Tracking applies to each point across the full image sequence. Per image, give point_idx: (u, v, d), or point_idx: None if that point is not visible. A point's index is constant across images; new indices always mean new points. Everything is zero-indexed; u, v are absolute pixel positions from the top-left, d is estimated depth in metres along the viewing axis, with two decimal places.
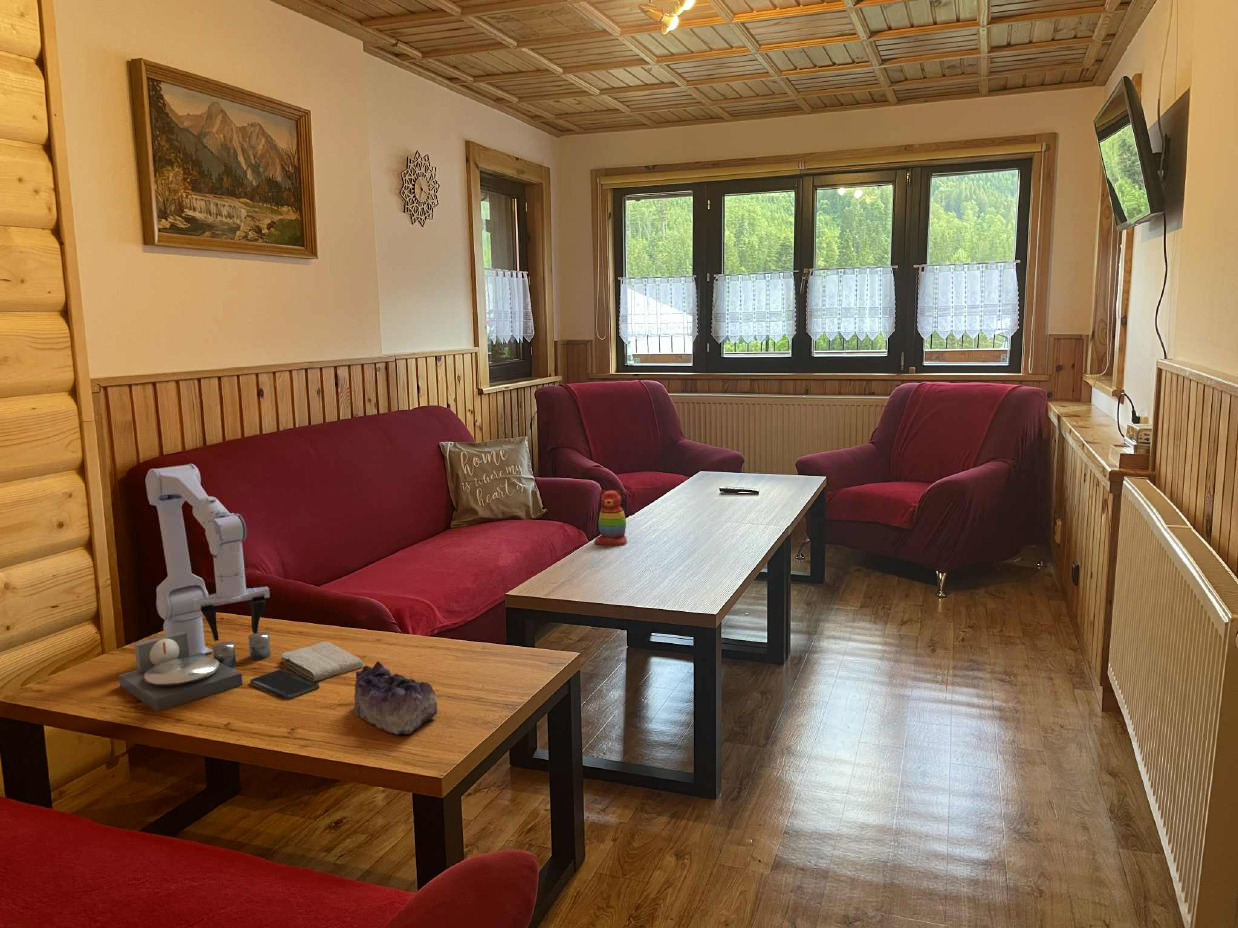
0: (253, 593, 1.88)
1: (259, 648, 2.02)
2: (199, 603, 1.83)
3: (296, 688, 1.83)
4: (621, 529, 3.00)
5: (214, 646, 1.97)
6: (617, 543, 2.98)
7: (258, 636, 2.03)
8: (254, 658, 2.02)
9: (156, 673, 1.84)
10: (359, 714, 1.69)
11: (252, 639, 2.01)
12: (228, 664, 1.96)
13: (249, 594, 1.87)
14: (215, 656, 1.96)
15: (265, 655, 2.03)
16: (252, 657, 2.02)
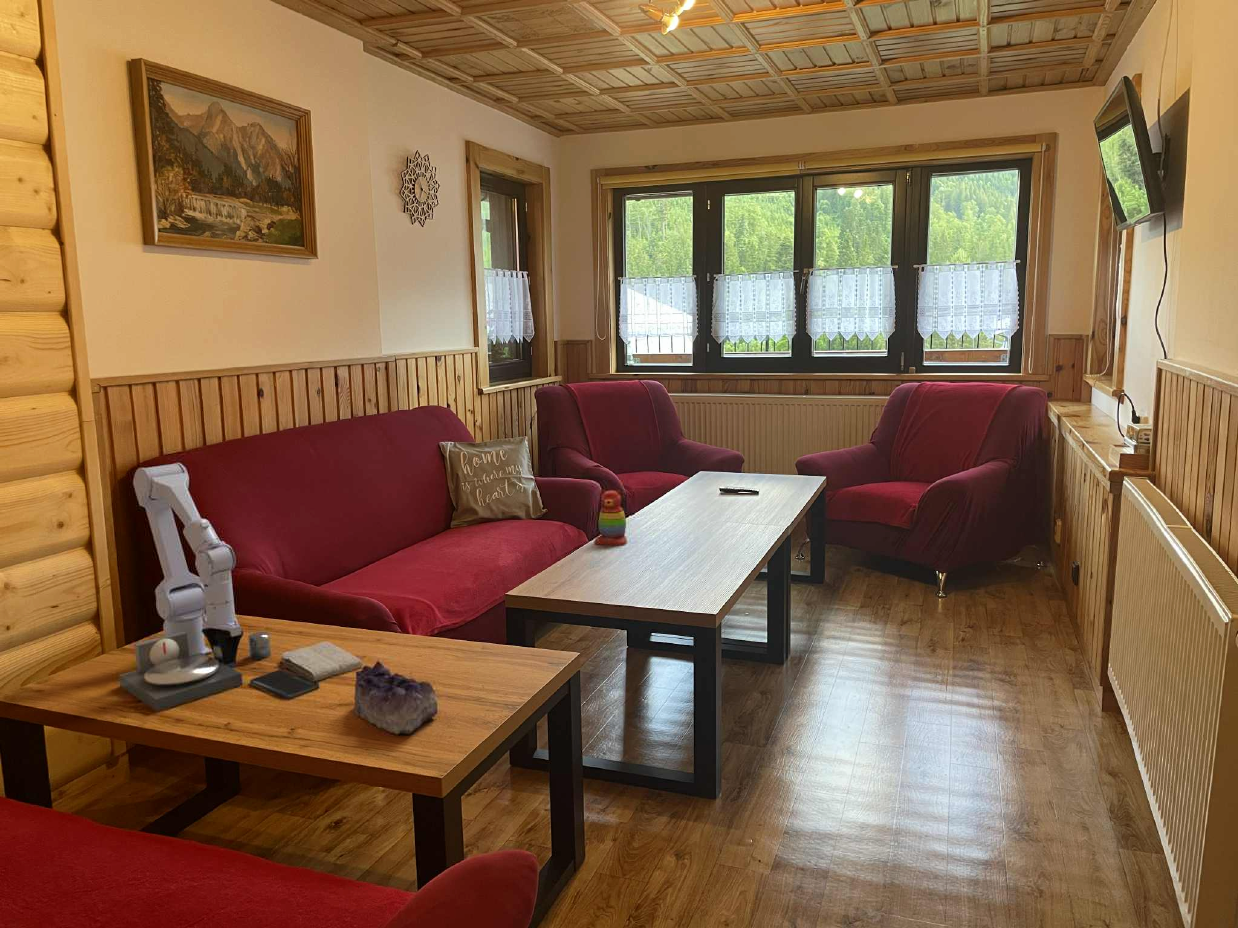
0: (221, 627, 1.93)
1: (259, 648, 2.02)
2: (204, 618, 2.00)
3: (296, 688, 1.83)
4: (621, 529, 3.00)
5: (214, 646, 1.97)
6: (617, 543, 2.98)
7: (258, 636, 2.03)
8: (254, 658, 2.02)
9: (156, 673, 1.84)
10: (359, 714, 1.69)
11: (252, 639, 2.01)
12: None
13: (217, 626, 1.93)
14: (215, 656, 1.96)
15: (265, 655, 2.03)
16: (252, 657, 2.02)
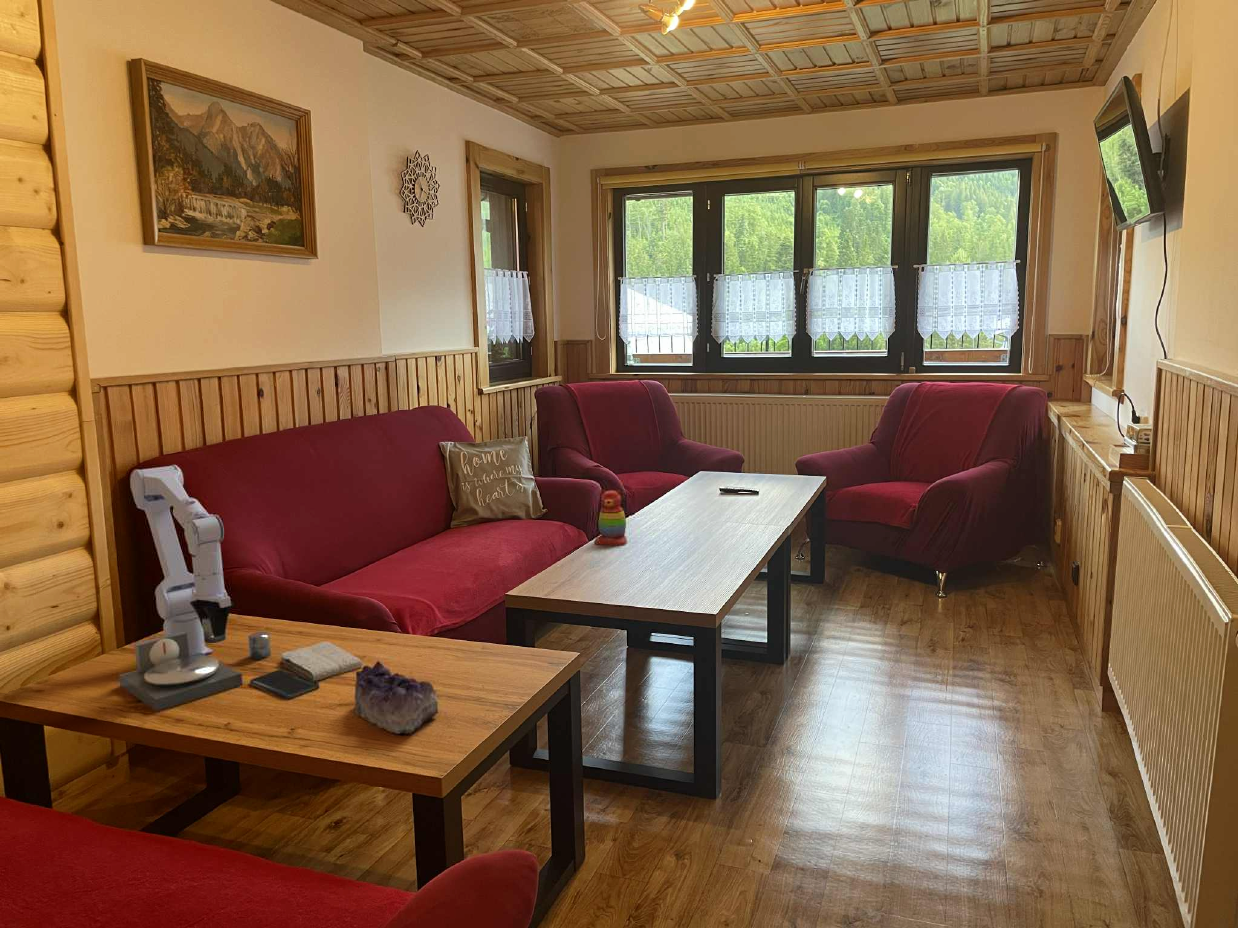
0: (210, 598, 1.90)
1: (259, 648, 2.02)
2: (193, 591, 1.97)
3: (296, 688, 1.83)
4: (621, 529, 3.00)
5: (203, 619, 1.94)
6: (617, 543, 2.98)
7: (258, 636, 2.03)
8: (254, 658, 2.02)
9: (156, 673, 1.84)
10: (359, 714, 1.69)
11: (252, 639, 2.01)
12: (218, 636, 1.93)
13: (206, 598, 1.90)
14: (204, 629, 1.93)
15: (265, 655, 2.03)
16: (252, 657, 2.02)
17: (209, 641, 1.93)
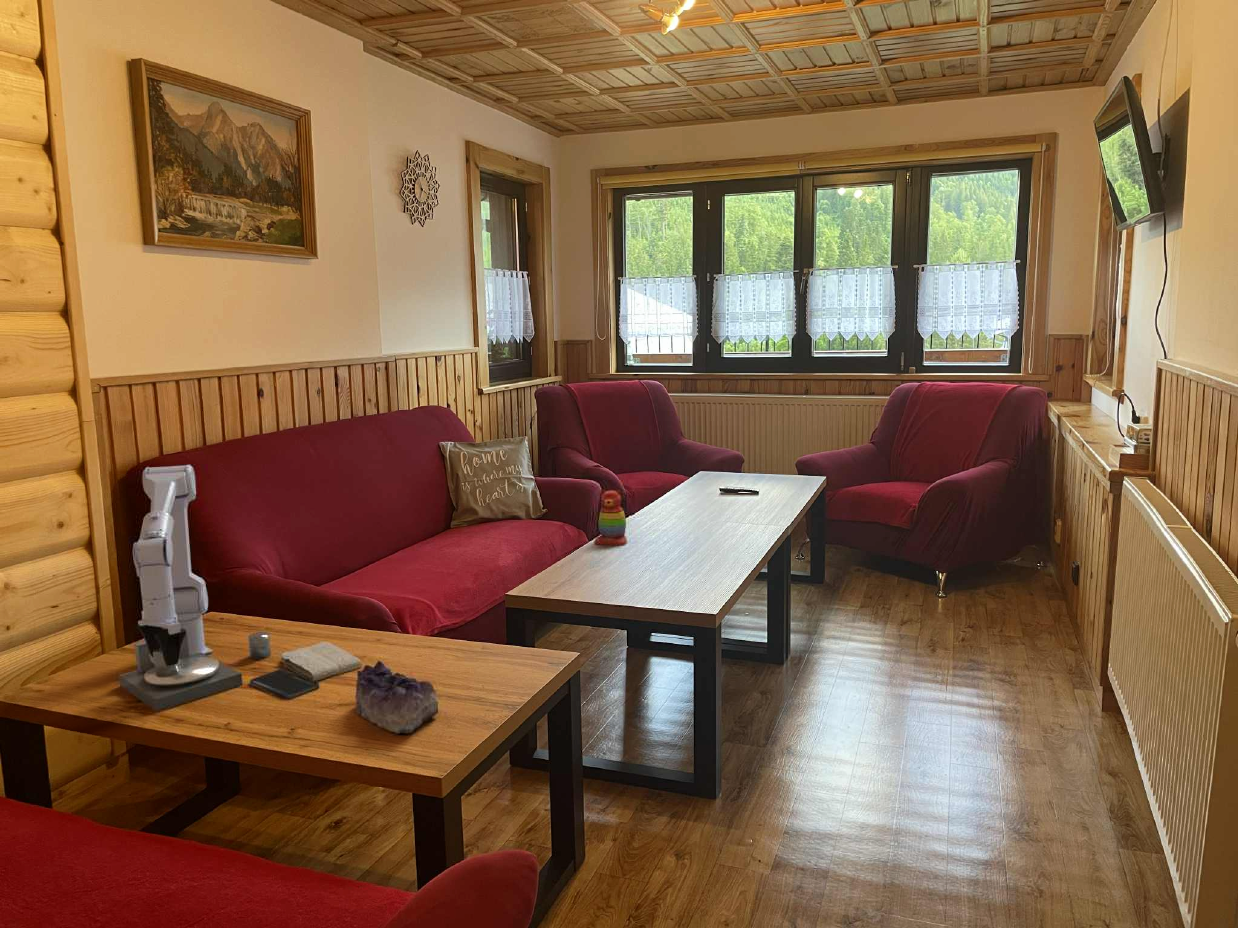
0: (158, 624, 1.78)
1: (259, 648, 2.02)
2: (143, 615, 1.86)
3: (296, 688, 1.83)
4: (621, 529, 3.00)
5: (154, 651, 1.82)
6: (617, 543, 2.98)
7: (258, 636, 2.03)
8: (254, 658, 2.02)
9: None
10: (360, 713, 1.69)
11: (252, 639, 2.01)
12: (170, 670, 1.82)
13: (155, 623, 1.79)
14: (156, 662, 1.82)
15: (265, 655, 2.03)
16: (252, 657, 2.02)
17: (161, 675, 1.82)
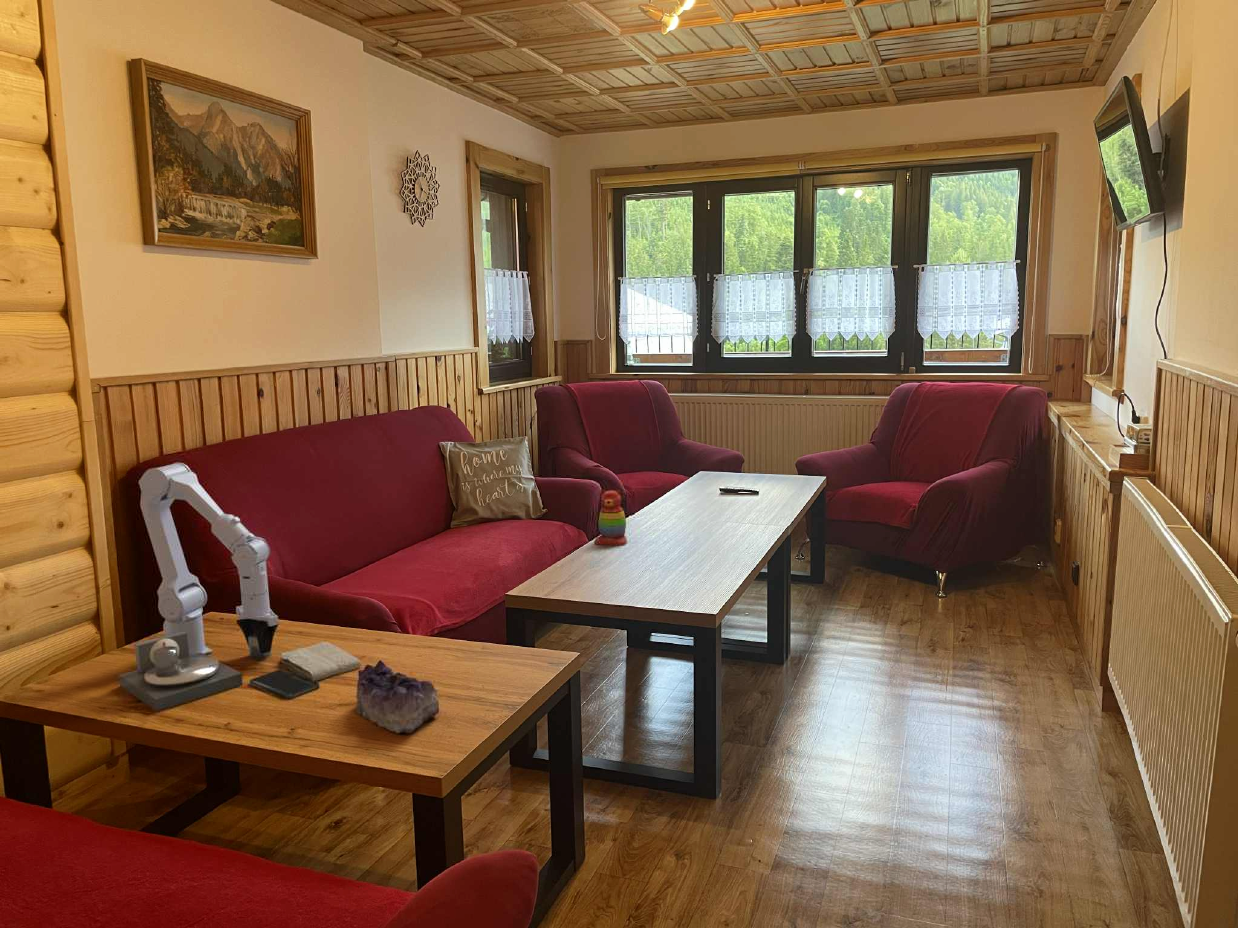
0: (258, 617, 1.99)
1: None
2: (237, 610, 2.06)
3: (296, 688, 1.83)
4: (621, 529, 3.00)
5: (154, 651, 1.83)
6: (617, 543, 2.98)
7: None
8: (254, 658, 2.02)
9: None
10: (361, 713, 1.70)
11: (252, 639, 2.01)
12: (170, 670, 1.82)
13: (255, 617, 1.99)
14: (156, 662, 1.82)
15: (265, 655, 2.03)
16: (252, 657, 2.02)
17: (161, 675, 1.82)
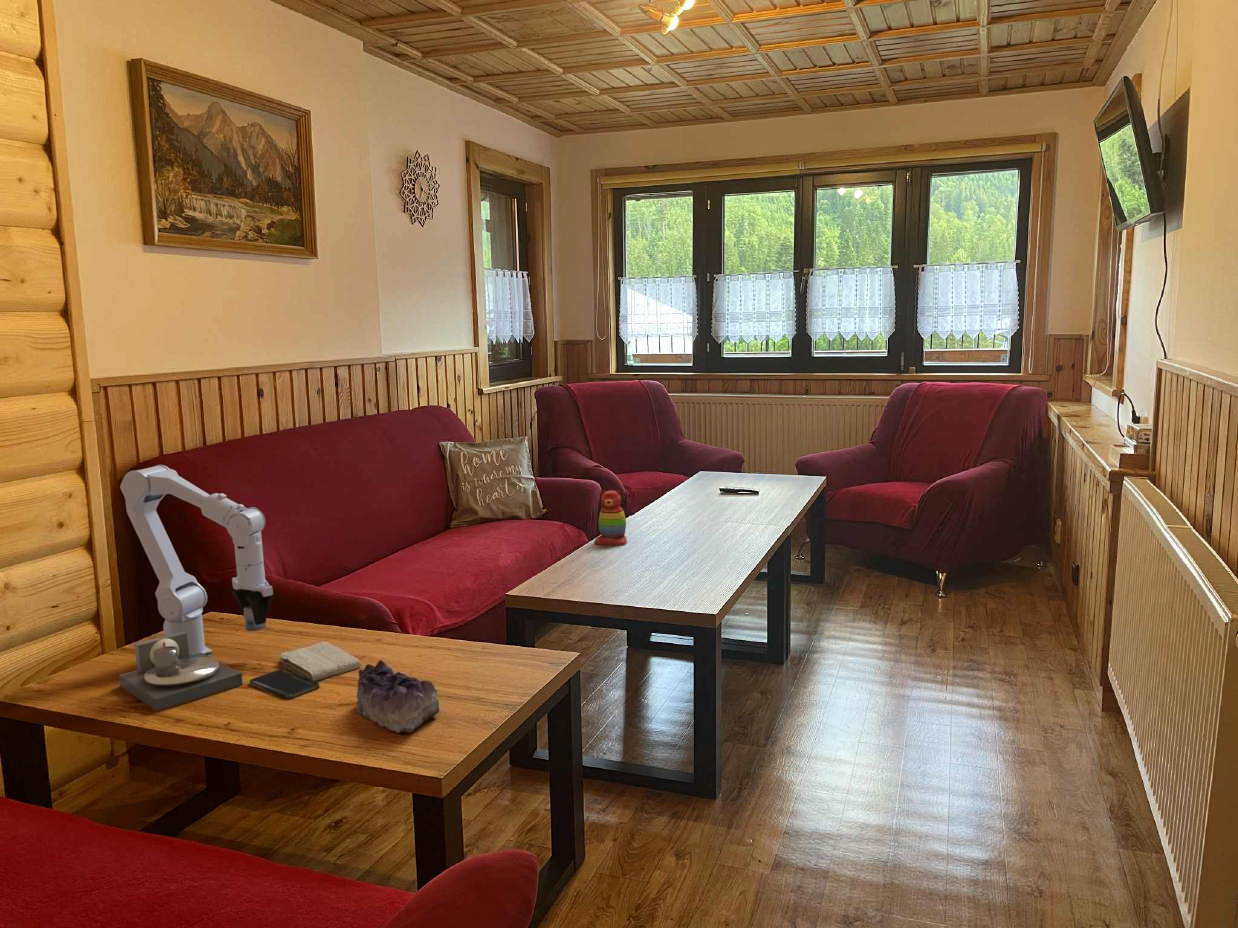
0: (252, 588, 1.97)
1: None
2: (233, 581, 2.04)
3: (296, 688, 1.83)
4: (621, 529, 3.00)
5: (154, 651, 1.82)
6: (617, 543, 2.98)
7: None
8: (249, 629, 2.00)
9: None
10: (361, 712, 1.70)
11: (247, 610, 2.00)
12: (170, 670, 1.82)
13: (249, 587, 1.97)
14: (156, 662, 1.82)
15: (260, 626, 2.01)
16: (247, 628, 2.01)
17: (161, 675, 1.82)
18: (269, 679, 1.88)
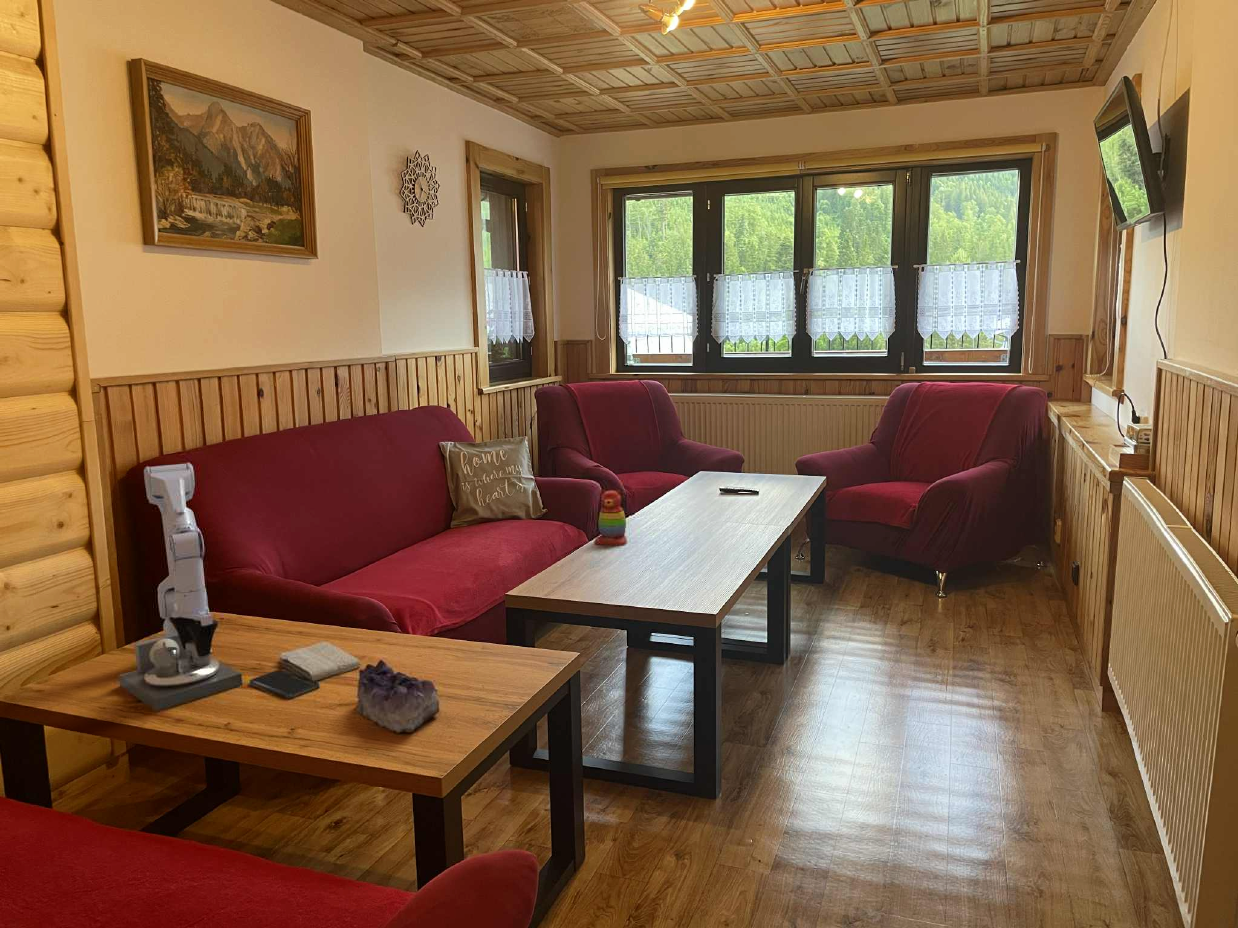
0: (191, 616, 1.83)
1: (198, 656, 1.87)
2: (175, 607, 1.90)
3: (296, 688, 1.83)
4: (621, 529, 3.00)
5: (154, 652, 1.83)
6: (617, 543, 2.98)
7: None
8: (192, 667, 1.87)
9: None
10: (362, 712, 1.70)
11: (190, 646, 1.86)
12: (170, 670, 1.82)
13: (188, 615, 1.83)
14: (156, 663, 1.82)
15: (204, 663, 1.87)
16: (190, 666, 1.87)
17: (161, 676, 1.82)
18: (269, 679, 1.88)
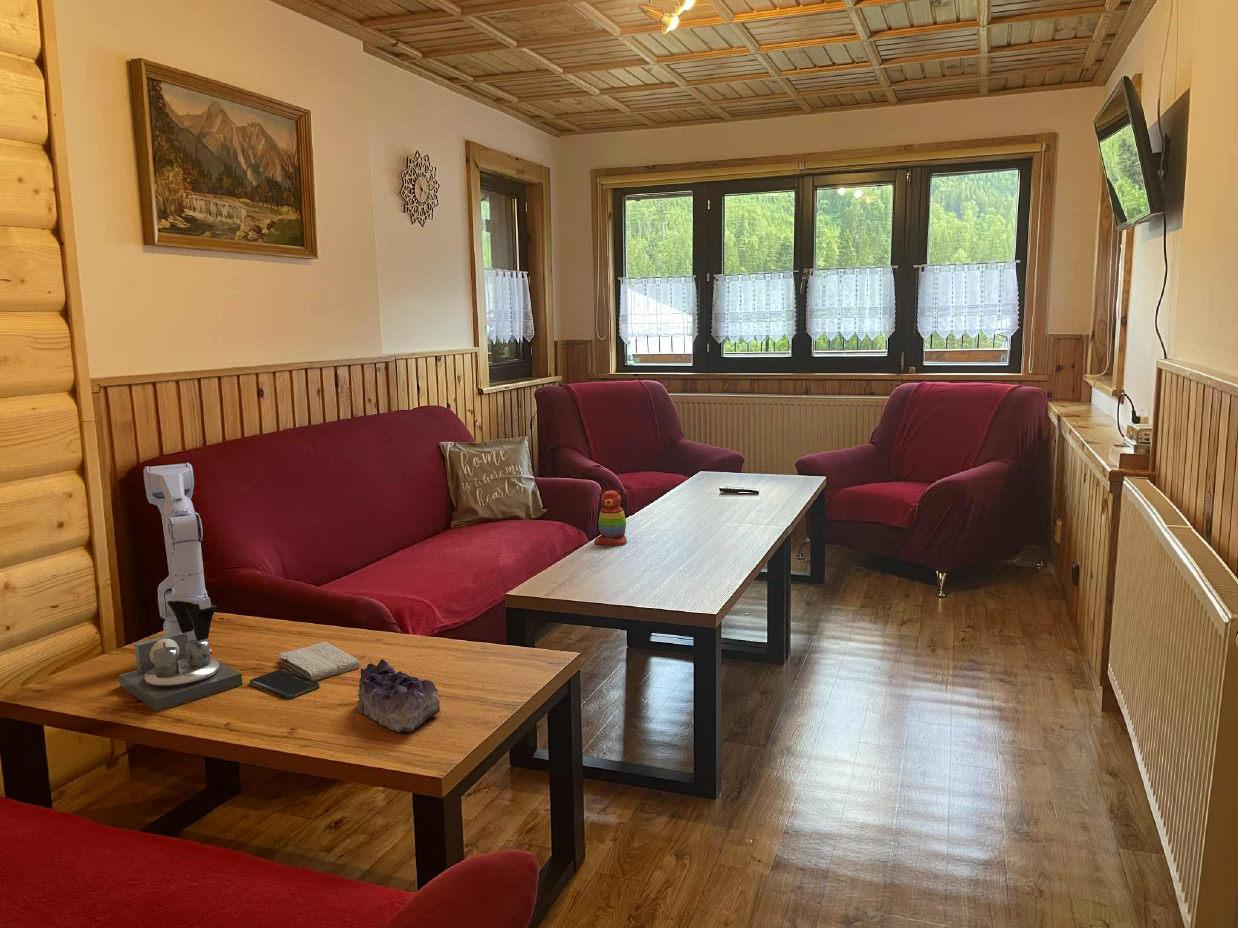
0: (189, 599, 1.82)
1: (198, 656, 1.87)
2: (173, 591, 1.90)
3: (296, 688, 1.83)
4: (621, 529, 3.00)
5: (154, 652, 1.82)
6: (617, 543, 2.98)
7: (196, 643, 1.87)
8: (192, 667, 1.87)
9: None
10: (363, 711, 1.70)
11: (190, 646, 1.86)
12: (170, 670, 1.82)
13: (186, 599, 1.83)
14: (156, 663, 1.82)
15: (204, 663, 1.87)
16: (190, 666, 1.87)
17: (161, 676, 1.82)
18: (269, 679, 1.88)
